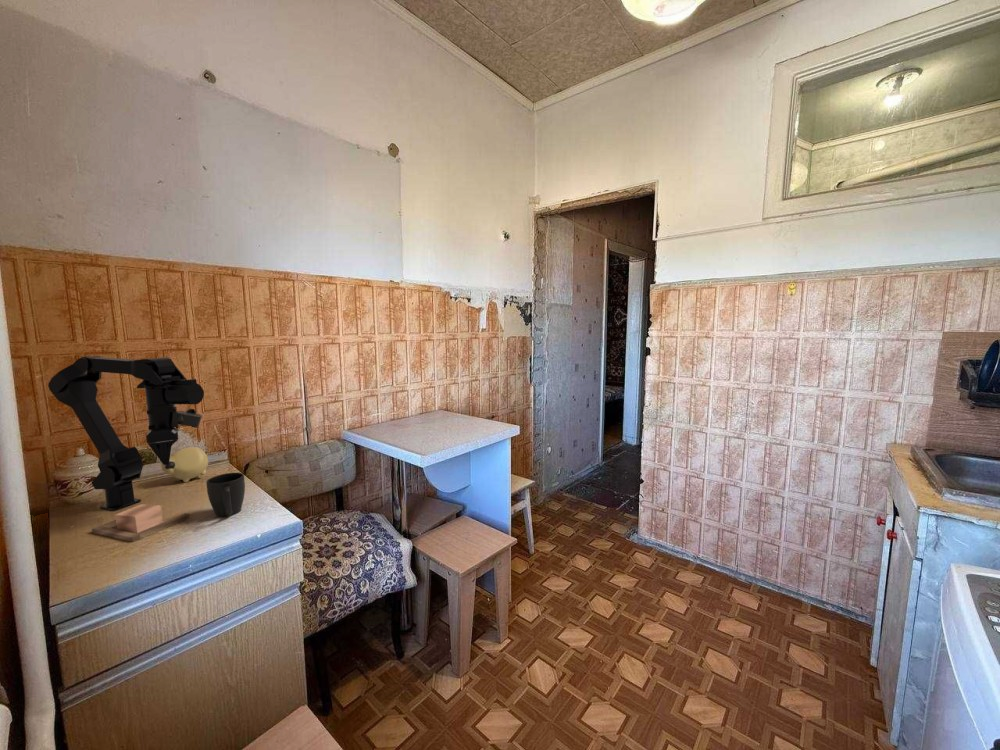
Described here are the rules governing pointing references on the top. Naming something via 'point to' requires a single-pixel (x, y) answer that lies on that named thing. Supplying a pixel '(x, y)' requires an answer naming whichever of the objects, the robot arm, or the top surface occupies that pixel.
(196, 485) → the top surface
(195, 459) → the toy pig
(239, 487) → the mug
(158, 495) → the top surface
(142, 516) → the terracotta block
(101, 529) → the walnut bay
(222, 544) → the top surface
